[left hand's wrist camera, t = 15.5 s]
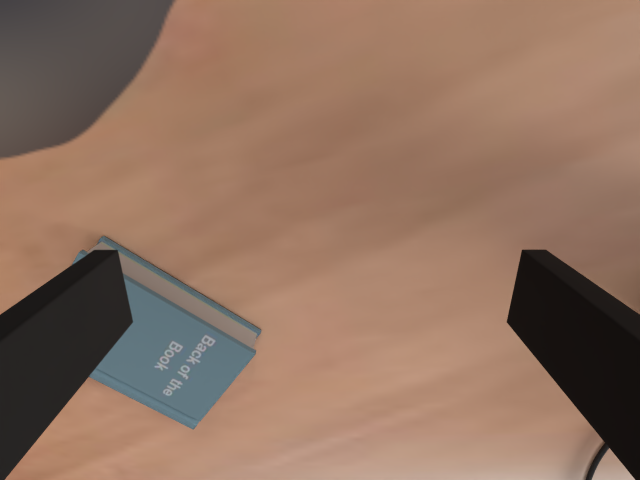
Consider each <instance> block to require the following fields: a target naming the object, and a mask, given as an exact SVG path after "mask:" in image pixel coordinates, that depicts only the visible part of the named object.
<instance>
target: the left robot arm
mask: <svg viewBox="0 0 640 480" xmlns="http://www.w3.org/2000/svg"><path fill="white" fill-rule="evenodd" d="M132 323H133V319H132V314H131V309H130V305H129V300H128V295H127V291H126V286H125V281H124V276H123V272H122V267H121V262H120V258H119V253H118V250H93V251H92V252H90V253H89V254H87V255H86V256H85V257H83V258H82V259H80V260H79V261H77V262H76V263H74V264H73V265H72V266H70V267H69V268H67V269H66V270H64V271H63V272H61V273H60V274H59V275H57V276H56V277H54V278H53V279H51V280H50V281H48V282H47V283H46V284H44V285H43V286H41V287H40V288H38V289H37V290H35V291H34V292H33V293H31V294H30V295H28V296H27V297H25V298H24V299H22V300H21V301H20V302H18V303H17V304H15V305H14V306H12V307H11V308H9V309H8V310H7V311H5V312H4V313H2V314H1V315H0V480H5V478H6V477H7V476H8V475H9V474H10V472H11V471H12V470H13V469H14V467H15V466H16V465H17V464H18V463H19V461H20V460H21V459H22V458H23V456H24V455H25V454H26V453H27V452H28V450H29V449H30V448H31V447H32V445H33V444H34V443H35V442H36V441H37V439H38V438H39V437H40V436H41V434H42V433H43V432H44V431H45V429H46V428H47V427H48V426H49V425H50V423H51V422H52V421H53V420H54V418H55V417H56V416H57V415H58V414H59V412H60V411H61V410H62V409H63V407H64V406H65V405H66V404H67V403H68V401H69V400H70V399H71V398H72V396H73V395H74V394H75V393H76V392H77V390H78V389H79V388H80V387H81V385H82V384H83V383H84V382H85V381H86V379H87V378H88V377H89V376H90V374H91V373H92V372H93V371H94V370H95V368H96V367H97V366H98V365H99V363H100V362H101V361H102V360H103V358H104V357H105V356H106V355H107V354H108V352H109V351H110V350H111V349H112V347H113V346H114V345H115V344H116V343H117V341H118V340H119V339H120V338H121V336H122V335H123V334H124V333H125V332H126V330H127V329H128V328H129V327H130V325H131V324H132ZM507 323H508V324H509V325H510V327H511V328H512V329H513V330H514V332H515V333H516V334H517V335H518V336H519V338H520V339H521V340H522V341H523V343H524V344H525V345H526V346H527V347H528V349H529V350H530V351H531V352H532V354H533V355H534V356H535V357H536V358H537V360H538V361H539V362H540V363H541V365H542V366H543V367H544V368H545V370H546V371H547V372H548V373H549V374H550V376H551V377H552V378H553V379H554V381H555V382H556V383H557V384H558V385H559V387H560V388H561V389H562V390H563V392H564V393H565V394H566V395H567V396H568V398H569V399H570V400H571V401H572V403H573V404H574V405H575V406H576V407H577V409H578V410H579V411H580V412H581V414H582V415H583V416H584V417H585V418H586V420H587V421H588V422H589V423H590V425H591V426H592V427H593V428H594V429H595V431H596V432H597V433H598V434H599V436H600V437H601V438H602V439H603V441H604V442H605V444H604V445H603V446H602V448H601V449H600V451H599V452H598V454H597V455H596V457H595V458H594V460H593V462H592V464H591V466H590V469H589V471H588V474H587V477H586V480H592V477H593V475H594V472H595V470H596V468H597V466H598V464H599V462H600V460H601V459H602V457H603V456H604V454H605V453H606V452H607V450H608V449H609V448H610V449H611V450H612V452H613V453H614V454H615V455H616V456H617V458H618V459H619V460H620V461H621V463H622V464H623V465H624V466H625V467H626V469H627V470H628V471H629V472H630V474H631V475H632V476H633V477H634V478H635V480H640V315H639V314H638V313H636V312H635V311H633V310H632V309H631V308H629V307H628V306H626V305H625V304H623V303H622V302H620V301H619V300H618V299H616V298H615V297H613V296H612V295H610V294H609V293H607V292H606V291H605V290H603V289H602V288H600V287H599V286H597V285H596V284H594V283H593V282H592V281H590V280H589V279H587V278H586V277H584V276H583V275H581V274H580V273H579V272H577V271H576V270H574V269H573V268H571V267H570V266H568V265H567V264H566V263H564V262H563V261H561V260H560V259H558V258H557V257H555V256H554V255H553V254H551V253H550V252H548V251H547V250H522V253H521V257H520V262H519V267H518V272H517V276H516V281H515V286H514V291H513V295H512V300H511V305H510V309H509V314H508V319H507Z"/></svg>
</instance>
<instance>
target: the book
mask: <svg viewBox="0 0 640 480" xmlns="http://www.w3.org/2000/svg"><path fill="white" fill-rule="evenodd" d="M93 250H118V253H119V258H120V262H121V267H122V272H123V276H124V281H125V286H126V291H127V295H128V300H129V305H130V309H131V314H132V319H133V323H132V324H131V325H130V327H129V328H128V329H127V330H126V332H125V333H124V334H123V335H122V336H121V338H120V339H119V340H118V341H117V343H116V344H115V345H114V346H113V347H112V349H111V350H110V351H109V352H108V354H107V355H106V356H105V357H104V358H103V360H102V361H101V362H100V363H99V365H98V366H97V367H96V368H95V370H94V371H93V372H92V373H91V374H90V376H89V377H91V378H93V379H94V380H96V381H98V382H100V383H102V384H104V385H106V386H108V387H110V388H112V389H114V390H116V391H118V392H120V393H122V394H124V395H126V396H128V397H130V398H132V399H134V400H136V401H138V402H140V403H142V404H144V405H146V406H148V407H150V408H152V409H154V410H156V411H158V412H160V413H162V414H164V415H166V416H168V417H170V418H171V419H173V420H175V421H177V422H179V423H181V424H183V425H185V426H187V427H189V428H191V429H194V428H195V427H196V426H197V424H198V422H199V421H201V420H202V418H203V417H204V416H205V415H206V414H207V412H208V411H209V410H210V409H211V408H212V406H213V405H214V404H215V403H216V401H217V400H218V399H219V398H220V397H221V395H222V394H223V393H224V392H225V391H226V389H227V388H228V387H229V386H230V384H231V383H232V382H233V381H234V380H235V378H236V377H237V376H238V375H239V374H240V372H241V371H242V370H243V369H244V367H245V366H246V365H247V364H248V363H249V361H250V360H251V359H252V358H253V357H254V355H255V353H256V350H254V349H253V348H254V344H255V340H256V338H257V337H258V336H259V335H260V333H261V330H260V329H259V328H257V327H255V326H254V325H252V324H250V323H248V322H247V321H245V320H243V319H242V318H240V317H238V316H237V315H235V314H233V313H232V312H230V311H228V310H227V309H225V308H223V307H222V306H220V305H218V304H217V303H215V302H213V301H212V300H210V299H208V298H207V297H205V296H203V295H202V294H200V293H198V292H197V291H195V290H193V289H192V288H190V287H188V286H187V285H185V284H183V283H182V282H180V281H178V280H177V279H175V278H173V277H172V276H170V275H168V274H167V273H165V272H163V271H162V270H160V269H158V268H157V267H155V266H153V265H152V264H150V263H148V262H147V261H145V260H143V259H142V258H140V257H138V256H136V255H135V254H133V253H131V252H130V251H128V250H126V249H125V248H123V247H121V246H120V245H118V244H116V243H115V242H113V241H111V240H110V239H108V238H106V237H105V236H103V237H101V238H100V240H99V242H98V243H97V245H96V246H95V247H93V248H92V249H90V250H89V251H87V252H86V251H84V250H82V251H80V252H79V253H78V255H77V257H76V259H75V260H74V262H73V264H74V263H76V262H77V261H79V260H80V259H82V258H83V257H85V256H86V255H87V254H89V253H90V252H92V251H93ZM73 264H72V265H73Z"/></svg>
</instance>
